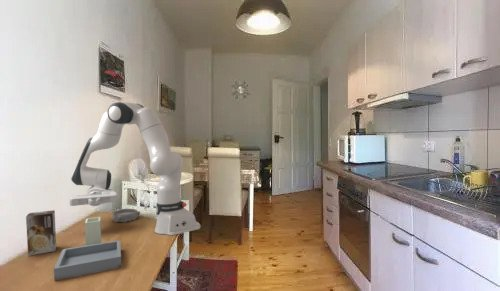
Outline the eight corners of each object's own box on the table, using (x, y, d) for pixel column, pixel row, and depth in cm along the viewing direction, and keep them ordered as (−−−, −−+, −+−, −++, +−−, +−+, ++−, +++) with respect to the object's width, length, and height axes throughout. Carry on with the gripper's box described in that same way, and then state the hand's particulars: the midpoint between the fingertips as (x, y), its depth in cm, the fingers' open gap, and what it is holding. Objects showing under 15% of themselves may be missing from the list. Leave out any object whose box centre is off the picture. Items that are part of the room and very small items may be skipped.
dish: (119, 225, 151) (119, 216, 151) (107, 220, 159) (106, 212, 159) (143, 218, 162) (143, 210, 162) (131, 214, 171) (130, 206, 171)
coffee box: (57, 246, 122) (55, 209, 121) (54, 251, 116) (53, 213, 115) (30, 250, 117) (29, 212, 117) (27, 256, 112) (25, 216, 111)
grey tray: (120, 249, 117) (119, 240, 117) (121, 267, 101) (121, 256, 101) (63, 259, 108) (62, 249, 108) (54, 280, 92) (53, 268, 92)
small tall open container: (101, 243, 124) (100, 216, 124) (100, 249, 118) (99, 220, 117) (87, 245, 122) (86, 218, 121) (85, 251, 115) (84, 222, 115)
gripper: (71, 192, 138) (67, 197, 125) (117, 189, 147) (117, 193, 134) (71, 205, 138) (67, 211, 125) (117, 200, 147) (117, 206, 135)
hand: (93, 202), depth 130 cm, fingers closed
